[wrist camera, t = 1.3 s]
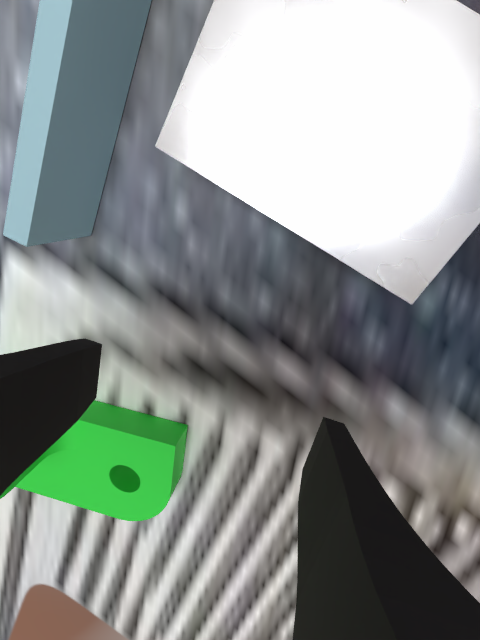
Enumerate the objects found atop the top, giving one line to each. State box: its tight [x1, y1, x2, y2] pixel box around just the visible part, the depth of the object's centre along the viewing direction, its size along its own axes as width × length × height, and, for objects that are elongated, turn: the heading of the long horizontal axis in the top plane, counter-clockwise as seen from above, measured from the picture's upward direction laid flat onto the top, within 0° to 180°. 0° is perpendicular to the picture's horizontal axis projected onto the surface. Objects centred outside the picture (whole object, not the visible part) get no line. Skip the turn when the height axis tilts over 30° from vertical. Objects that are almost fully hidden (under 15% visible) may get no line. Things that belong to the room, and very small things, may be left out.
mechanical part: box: [0, 400, 188, 521], centre depth 18 cm, size 12×6×8 cm, turn 81°
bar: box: [3, 0, 152, 247], centre depth 13 cm, size 1×12×4 cm, turn 156°
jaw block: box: [155, 0, 480, 304], centre depth 12 cm, size 10×7×4 cm
